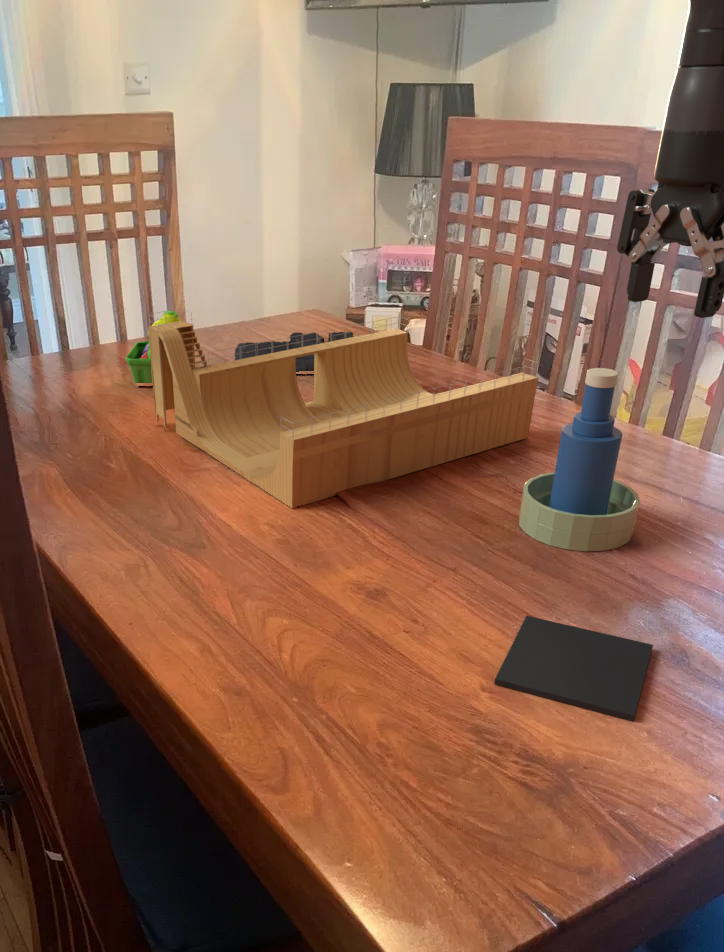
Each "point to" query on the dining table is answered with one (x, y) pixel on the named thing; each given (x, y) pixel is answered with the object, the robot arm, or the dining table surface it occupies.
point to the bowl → (577, 518)
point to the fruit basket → (146, 353)
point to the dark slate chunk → (288, 347)
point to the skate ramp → (329, 412)
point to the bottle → (588, 450)
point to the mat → (576, 667)
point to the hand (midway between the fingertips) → (669, 308)
